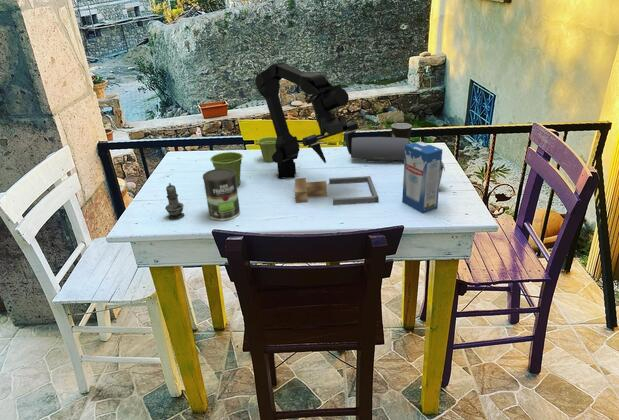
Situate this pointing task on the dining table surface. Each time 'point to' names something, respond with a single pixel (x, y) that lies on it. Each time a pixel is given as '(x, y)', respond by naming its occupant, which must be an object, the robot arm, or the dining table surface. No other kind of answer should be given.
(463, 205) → the dining table surface
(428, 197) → the milk carton
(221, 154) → the plant pot
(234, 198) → the coffee can
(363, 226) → the dining table surface
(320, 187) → the t block
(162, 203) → the dining table surface
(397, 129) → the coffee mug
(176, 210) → the grey tall tiered piece
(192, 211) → the dining table surface
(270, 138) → the plant pot
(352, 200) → the fence pocket
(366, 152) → the bluetooth speaker
